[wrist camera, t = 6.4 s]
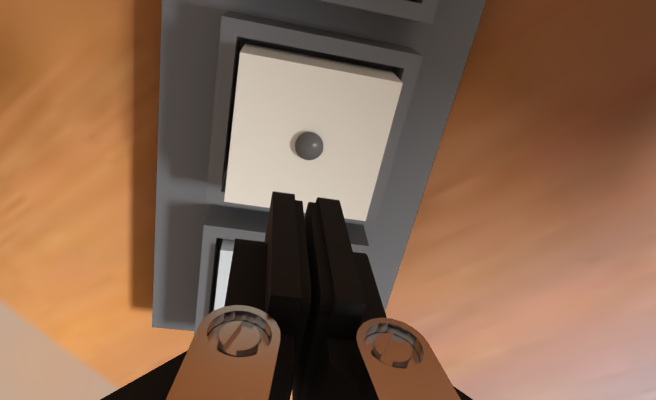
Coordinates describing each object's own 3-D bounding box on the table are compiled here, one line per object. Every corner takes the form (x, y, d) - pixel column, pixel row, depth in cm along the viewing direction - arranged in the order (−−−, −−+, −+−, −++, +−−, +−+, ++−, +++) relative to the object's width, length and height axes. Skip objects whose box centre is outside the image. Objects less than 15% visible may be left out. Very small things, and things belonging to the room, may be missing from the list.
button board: (537, -208, 17) (592, -246, 14) (369, 330, 29) (378, 374, 26) (182, -317, 15) (154, -389, 12) (159, 309, 27) (141, 353, 24)
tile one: (392, 71, 19) (403, 84, 17) (359, 199, 21) (366, 223, 19) (245, 43, 18) (239, 52, 16) (229, 180, 20) (223, 203, 18)
